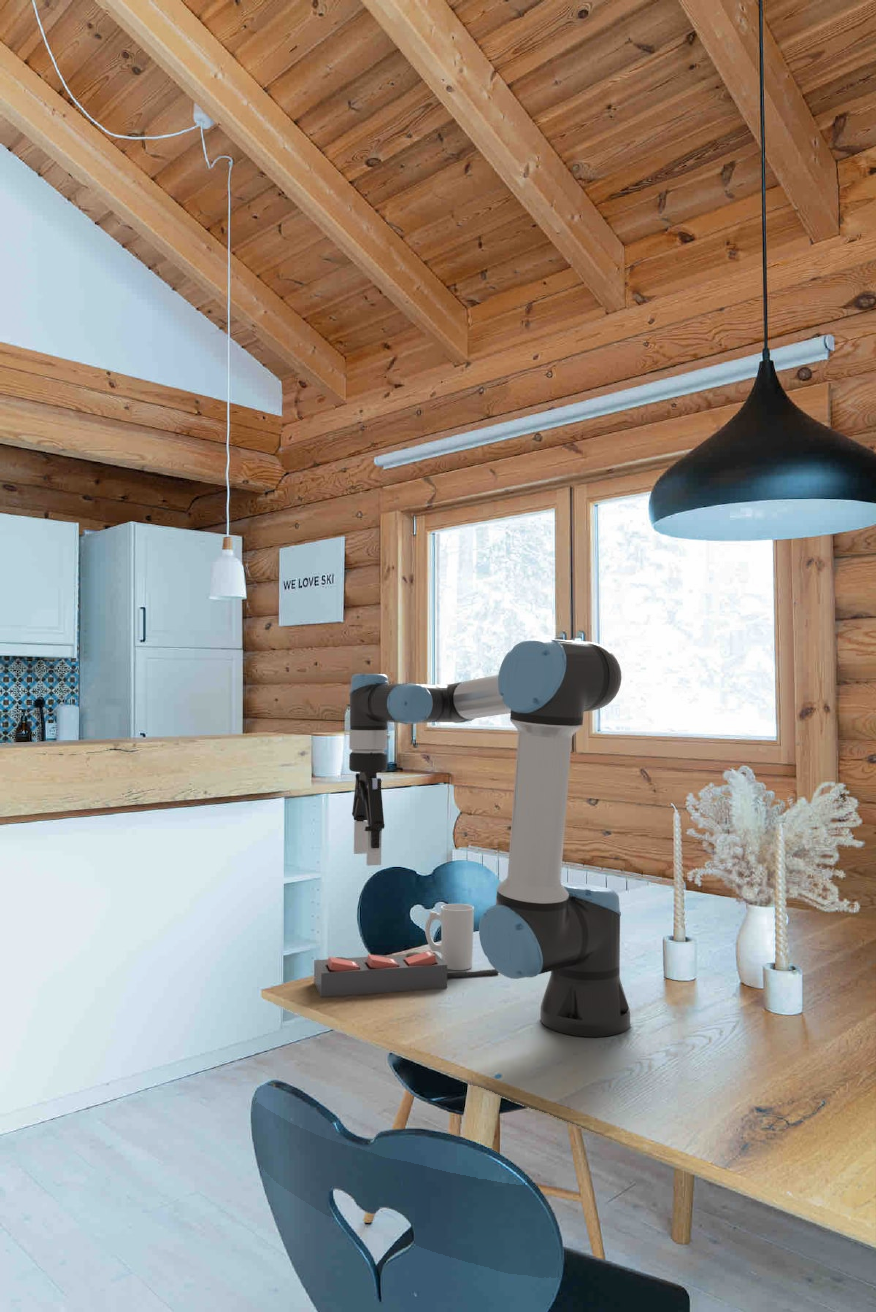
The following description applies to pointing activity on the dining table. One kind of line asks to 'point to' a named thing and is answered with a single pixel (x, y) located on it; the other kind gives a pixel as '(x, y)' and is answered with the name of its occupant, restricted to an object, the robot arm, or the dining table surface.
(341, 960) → the rocker
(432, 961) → the rocker
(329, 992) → the switch panel
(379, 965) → the rocker
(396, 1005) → the dining table surface
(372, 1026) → the dining table surface
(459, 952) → the mug
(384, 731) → the robot arm
